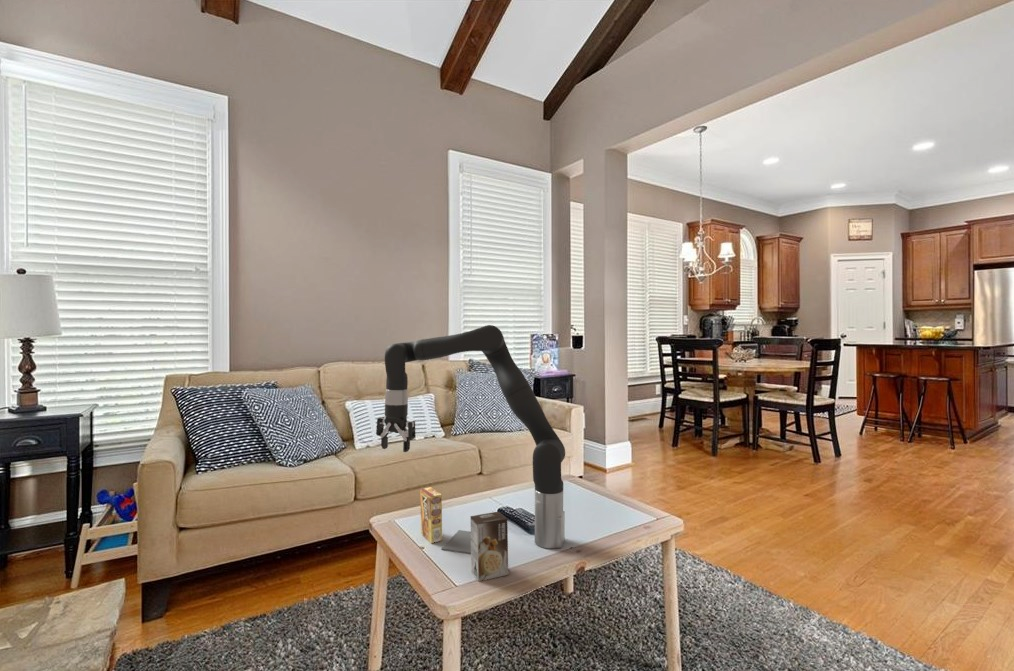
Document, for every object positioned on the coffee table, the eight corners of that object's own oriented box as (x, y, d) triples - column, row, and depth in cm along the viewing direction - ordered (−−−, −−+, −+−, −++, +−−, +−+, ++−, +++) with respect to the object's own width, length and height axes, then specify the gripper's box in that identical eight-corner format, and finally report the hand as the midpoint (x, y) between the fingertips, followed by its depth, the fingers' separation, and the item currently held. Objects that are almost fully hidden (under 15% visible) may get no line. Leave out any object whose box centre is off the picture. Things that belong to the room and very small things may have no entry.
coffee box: (499, 565, 140) (499, 510, 140) (508, 575, 134) (508, 518, 134) (470, 571, 136) (470, 515, 136) (477, 582, 131) (477, 524, 130)
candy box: (442, 540, 156) (442, 494, 155) (430, 544, 153) (430, 496, 153) (431, 531, 163) (431, 486, 163) (419, 534, 161) (419, 488, 161)
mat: (500, 537, 158) (500, 535, 158) (486, 556, 145) (486, 555, 145) (458, 531, 163) (458, 530, 163) (441, 549, 150) (441, 548, 150)
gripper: (420, 402, 162) (419, 450, 163) (385, 399, 168) (384, 444, 168) (407, 406, 155) (406, 455, 156) (372, 402, 161) (370, 449, 161)
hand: (395, 450), depth 162 cm, fingers open, 8 cm apart
